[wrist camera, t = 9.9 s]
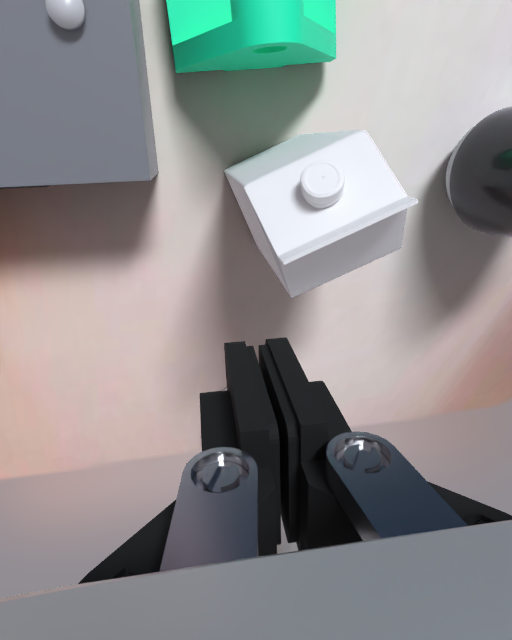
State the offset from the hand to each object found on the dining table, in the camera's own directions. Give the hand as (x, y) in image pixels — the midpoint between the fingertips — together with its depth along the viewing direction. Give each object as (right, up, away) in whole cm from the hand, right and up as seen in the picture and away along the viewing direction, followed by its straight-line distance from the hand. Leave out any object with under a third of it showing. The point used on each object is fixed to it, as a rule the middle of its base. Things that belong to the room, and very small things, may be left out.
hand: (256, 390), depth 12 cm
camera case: (-16, +19, +22) cm, 33 cm away
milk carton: (+2, +13, +27) cm, 30 cm away
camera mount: (-1, +25, +22) cm, 33 cm away
